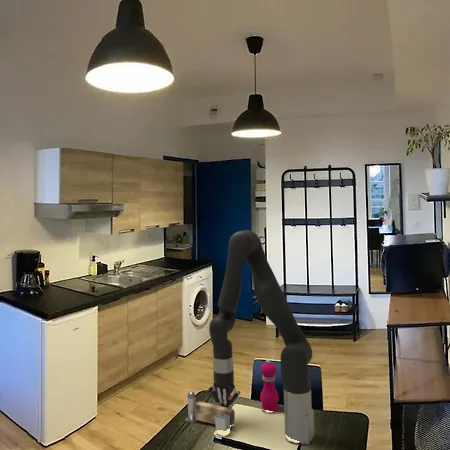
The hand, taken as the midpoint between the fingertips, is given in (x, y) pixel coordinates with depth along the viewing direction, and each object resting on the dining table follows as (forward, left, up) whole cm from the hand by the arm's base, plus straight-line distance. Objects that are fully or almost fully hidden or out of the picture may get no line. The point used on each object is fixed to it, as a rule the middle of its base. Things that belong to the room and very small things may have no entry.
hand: (224, 414), depth 162 cm
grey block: (-3, +7, -3) cm, 8 cm away
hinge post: (+12, +4, -3) cm, 13 cm away
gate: (+2, +4, -2) cm, 5 cm away
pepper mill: (-11, -16, -3) cm, 20 cm away
